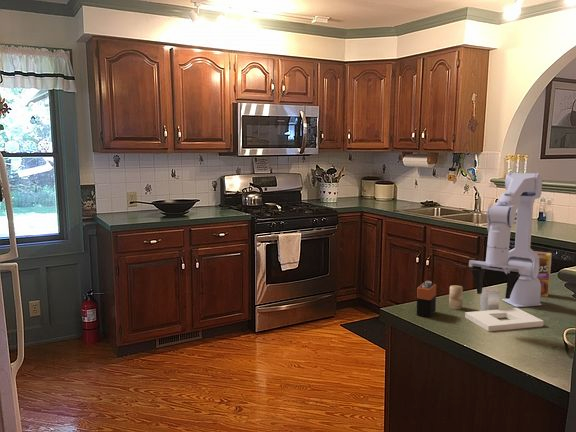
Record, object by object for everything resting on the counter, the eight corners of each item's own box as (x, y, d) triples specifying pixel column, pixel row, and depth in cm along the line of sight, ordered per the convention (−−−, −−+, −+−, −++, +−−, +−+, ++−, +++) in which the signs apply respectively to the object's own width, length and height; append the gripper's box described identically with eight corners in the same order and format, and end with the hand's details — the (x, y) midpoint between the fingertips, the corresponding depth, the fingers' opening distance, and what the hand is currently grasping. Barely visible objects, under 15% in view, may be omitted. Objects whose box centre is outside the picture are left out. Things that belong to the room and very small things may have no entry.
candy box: (519, 293, 176) (522, 251, 174) (521, 290, 179) (524, 249, 177) (547, 297, 171) (550, 254, 169) (549, 294, 175) (552, 252, 172)
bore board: (516, 312, 156) (516, 307, 156) (543, 326, 144) (543, 320, 144) (465, 317, 152) (465, 312, 152) (488, 331, 141) (488, 326, 140)
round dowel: (457, 305, 164) (458, 284, 163) (464, 309, 160) (465, 288, 159) (446, 306, 163) (447, 285, 162) (453, 310, 159) (453, 289, 158)
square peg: (491, 308, 161) (492, 287, 160) (498, 312, 157) (499, 290, 156) (479, 309, 160) (481, 288, 159) (487, 313, 156) (488, 291, 155)
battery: (435, 311, 158) (436, 281, 156) (429, 318, 152) (430, 286, 151) (422, 309, 160) (423, 279, 159) (415, 315, 154) (416, 284, 153)
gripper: (467, 245, 140) (462, 292, 140) (522, 251, 131) (517, 301, 131) (475, 245, 146) (470, 290, 146) (528, 251, 137) (523, 299, 137)
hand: (493, 295), depth 139 cm, fingers open, 7 cm apart
